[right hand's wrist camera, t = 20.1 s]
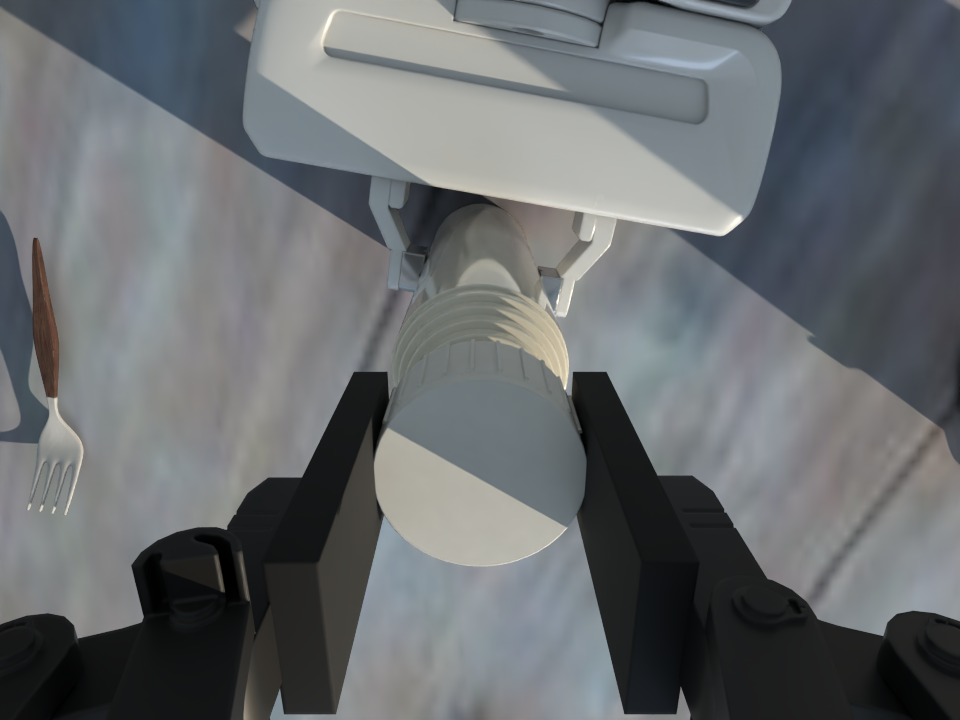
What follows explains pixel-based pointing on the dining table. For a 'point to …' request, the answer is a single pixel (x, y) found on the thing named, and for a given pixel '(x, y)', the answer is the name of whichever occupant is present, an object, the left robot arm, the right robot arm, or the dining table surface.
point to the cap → (480, 455)
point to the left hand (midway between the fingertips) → (477, 300)
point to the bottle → (480, 293)
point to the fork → (51, 392)
